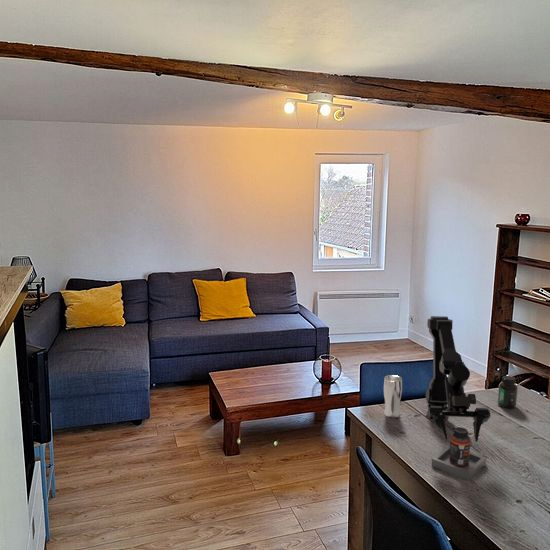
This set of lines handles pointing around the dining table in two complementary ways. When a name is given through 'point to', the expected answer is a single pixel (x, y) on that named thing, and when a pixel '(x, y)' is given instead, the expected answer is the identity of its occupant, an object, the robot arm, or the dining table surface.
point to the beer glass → (392, 395)
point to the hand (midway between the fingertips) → (461, 440)
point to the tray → (466, 472)
